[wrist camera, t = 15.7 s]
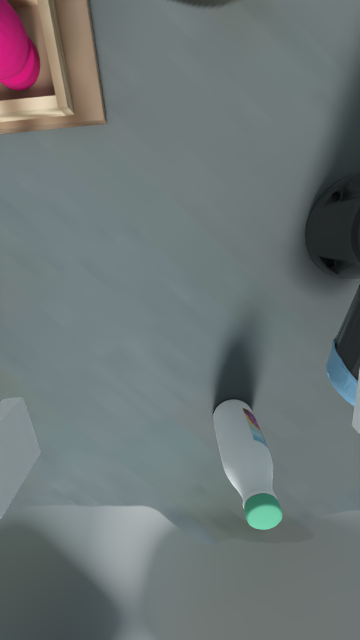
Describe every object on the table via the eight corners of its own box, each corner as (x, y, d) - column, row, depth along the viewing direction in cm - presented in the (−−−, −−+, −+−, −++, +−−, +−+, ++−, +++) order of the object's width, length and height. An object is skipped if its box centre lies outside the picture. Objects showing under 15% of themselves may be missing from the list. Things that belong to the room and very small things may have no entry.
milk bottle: (212, 431, 53) (233, 541, 34) (212, 398, 51) (235, 497, 32) (250, 429, 53) (293, 538, 34) (252, 396, 51) (299, 493, 32)
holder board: (86, -12, 32) (75, -44, 29) (106, 123, 37) (99, 110, 33) (-75, 5, 33) (-108, -26, 29) (-36, 137, 37) (-60, 126, 33)
